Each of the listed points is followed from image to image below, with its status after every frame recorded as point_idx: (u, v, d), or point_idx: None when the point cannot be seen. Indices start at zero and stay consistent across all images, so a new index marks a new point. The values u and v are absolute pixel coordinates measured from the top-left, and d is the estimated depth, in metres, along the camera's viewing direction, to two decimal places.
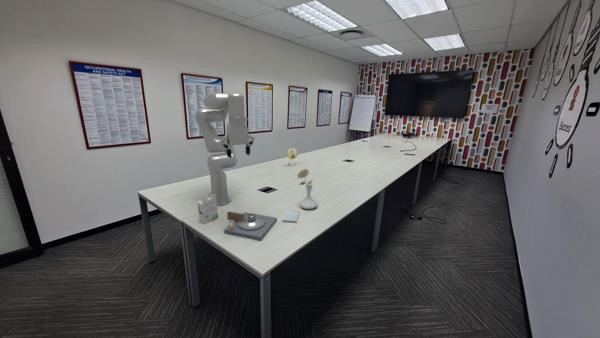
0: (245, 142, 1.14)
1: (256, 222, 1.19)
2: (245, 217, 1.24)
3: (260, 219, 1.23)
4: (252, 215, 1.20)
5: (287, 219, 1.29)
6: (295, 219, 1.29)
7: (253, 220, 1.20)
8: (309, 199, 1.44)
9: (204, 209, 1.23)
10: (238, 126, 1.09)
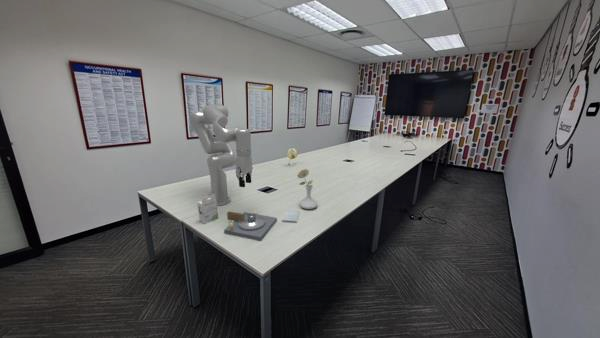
0: (250, 170, 1.27)
1: (256, 222, 1.19)
2: (245, 217, 1.24)
3: (260, 219, 1.23)
4: (252, 215, 1.20)
5: (287, 219, 1.29)
6: (295, 219, 1.29)
7: (253, 220, 1.20)
8: (309, 199, 1.44)
9: (204, 209, 1.23)
10: (247, 158, 1.21)
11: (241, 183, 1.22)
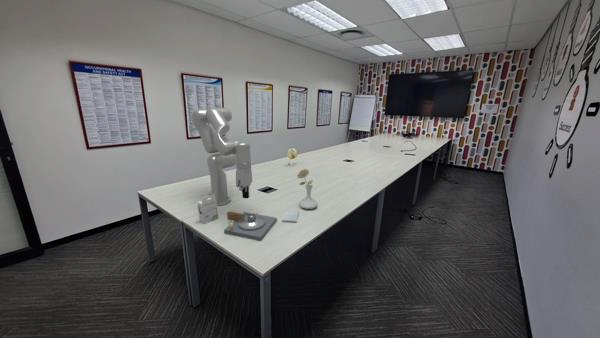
0: (250, 182, 1.28)
1: (256, 222, 1.19)
2: (245, 217, 1.24)
3: (260, 219, 1.23)
4: (252, 215, 1.20)
5: (287, 219, 1.29)
6: (295, 219, 1.29)
7: (253, 220, 1.20)
8: (309, 199, 1.44)
9: (204, 209, 1.23)
10: (247, 170, 1.22)
11: (244, 194, 1.26)
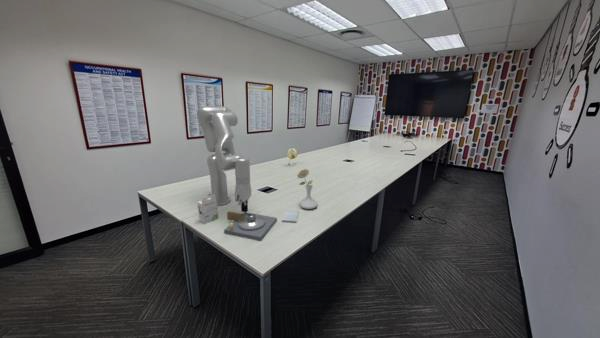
0: (249, 196, 1.29)
1: (256, 222, 1.19)
2: (245, 217, 1.24)
3: (260, 219, 1.23)
4: (252, 215, 1.20)
5: (287, 219, 1.29)
6: (295, 219, 1.29)
7: (253, 220, 1.20)
8: (309, 199, 1.44)
9: (204, 209, 1.23)
10: (246, 185, 1.24)
11: (243, 208, 1.27)
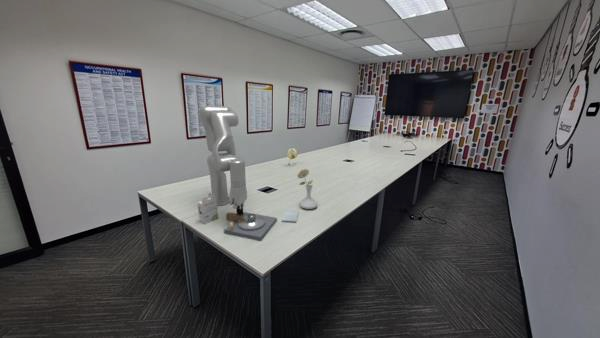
0: (245, 199, 1.25)
1: (256, 222, 1.20)
2: (244, 217, 1.24)
3: (260, 219, 1.23)
4: (252, 215, 1.20)
5: (287, 219, 1.28)
6: (295, 219, 1.29)
7: (253, 220, 1.20)
8: (309, 199, 1.44)
9: (204, 209, 1.23)
10: (242, 188, 1.19)
11: (239, 212, 1.23)
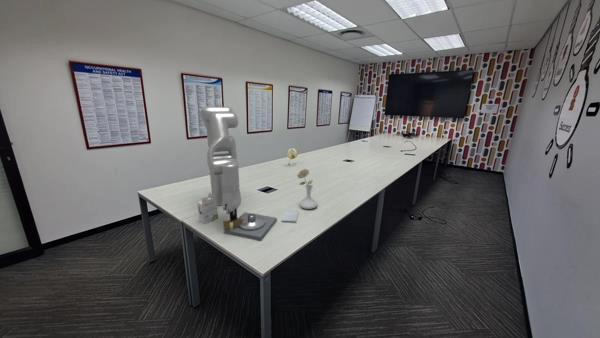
0: (239, 204, 1.19)
1: (258, 220, 1.22)
2: (241, 220, 1.21)
3: (257, 216, 1.25)
4: (252, 215, 1.21)
5: (286, 219, 1.28)
6: (294, 219, 1.29)
7: (255, 219, 1.21)
8: (309, 199, 1.44)
9: (204, 209, 1.23)
10: (235, 193, 1.14)
11: (232, 218, 1.18)
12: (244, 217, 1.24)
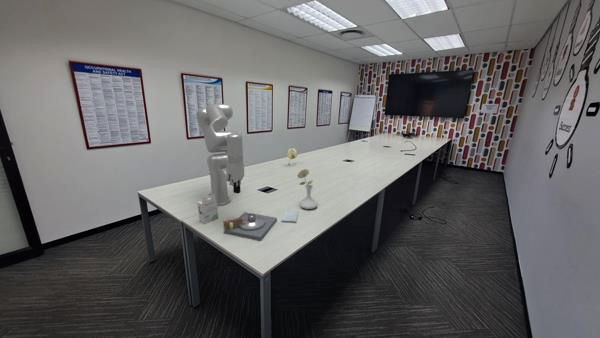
0: (242, 177, 1.21)
1: (258, 220, 1.22)
2: (241, 220, 1.21)
3: (257, 216, 1.25)
4: (252, 215, 1.21)
5: (286, 219, 1.28)
6: (294, 219, 1.29)
7: (255, 219, 1.21)
8: (309, 199, 1.44)
9: (204, 209, 1.23)
10: (239, 164, 1.15)
11: (235, 189, 1.19)
12: (244, 217, 1.24)
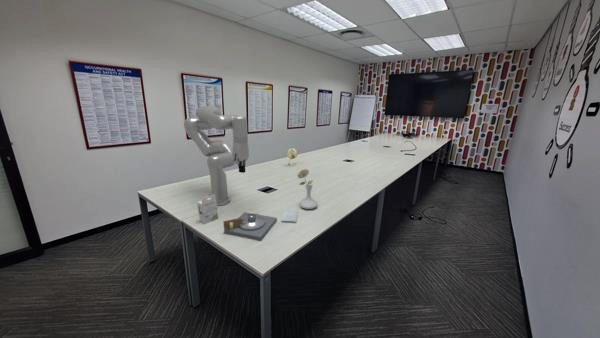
0: (247, 157, 1.30)
1: (258, 220, 1.22)
2: (241, 220, 1.21)
3: (257, 216, 1.25)
4: (252, 215, 1.21)
5: (286, 219, 1.28)
6: (294, 219, 1.29)
7: (255, 219, 1.21)
8: (309, 199, 1.44)
9: (204, 209, 1.23)
10: (244, 144, 1.24)
11: (241, 168, 1.28)
12: (244, 217, 1.24)
